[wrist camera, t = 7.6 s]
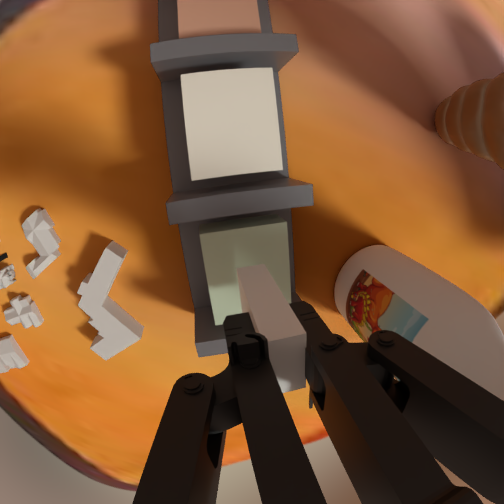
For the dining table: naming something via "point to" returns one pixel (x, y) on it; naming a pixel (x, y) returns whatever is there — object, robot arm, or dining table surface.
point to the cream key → (231, 122)
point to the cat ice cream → (475, 119)
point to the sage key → (243, 257)
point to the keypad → (226, 187)
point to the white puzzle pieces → (92, 290)
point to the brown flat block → (217, 17)
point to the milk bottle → (421, 313)
